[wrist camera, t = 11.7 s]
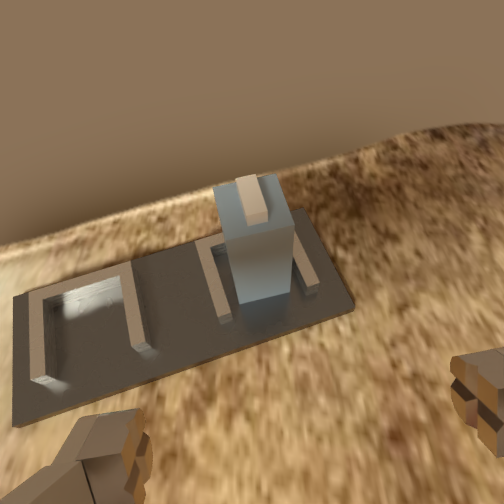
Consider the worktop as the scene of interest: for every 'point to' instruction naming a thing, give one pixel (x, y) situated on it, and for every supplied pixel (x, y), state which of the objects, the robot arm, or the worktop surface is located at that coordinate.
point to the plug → (257, 235)
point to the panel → (156, 321)
